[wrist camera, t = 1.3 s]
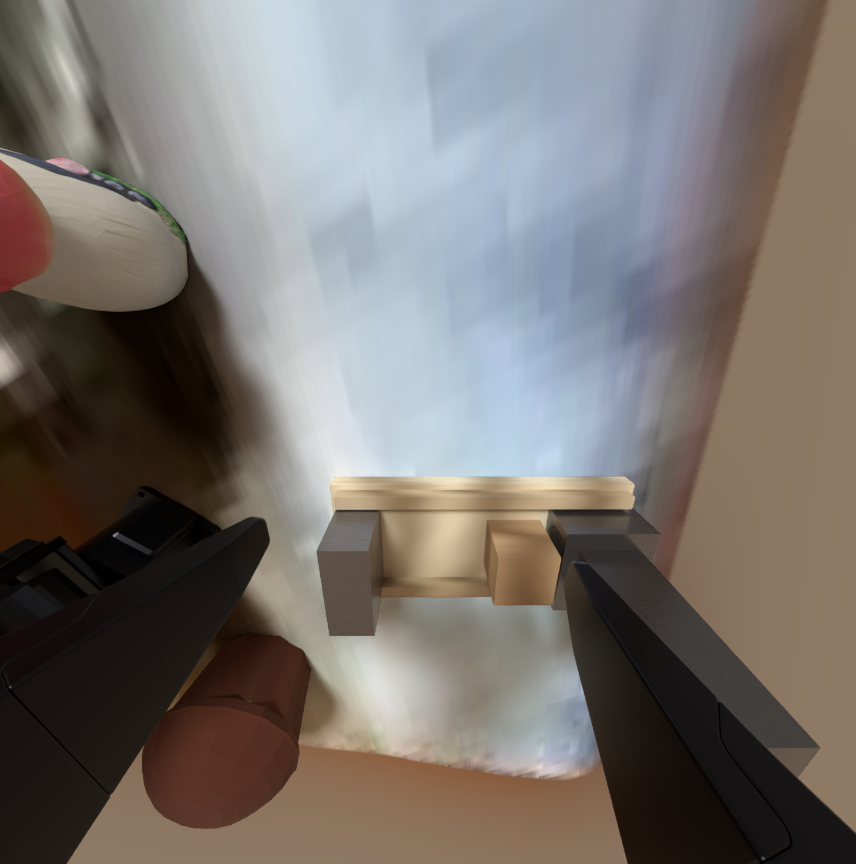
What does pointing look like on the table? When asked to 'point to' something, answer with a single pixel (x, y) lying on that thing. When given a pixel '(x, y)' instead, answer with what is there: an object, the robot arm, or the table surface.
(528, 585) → the walnut block
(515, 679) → the table surface
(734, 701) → the block
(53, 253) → the decorative ornament
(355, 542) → the block
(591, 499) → the wooden tray
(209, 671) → the muffin
